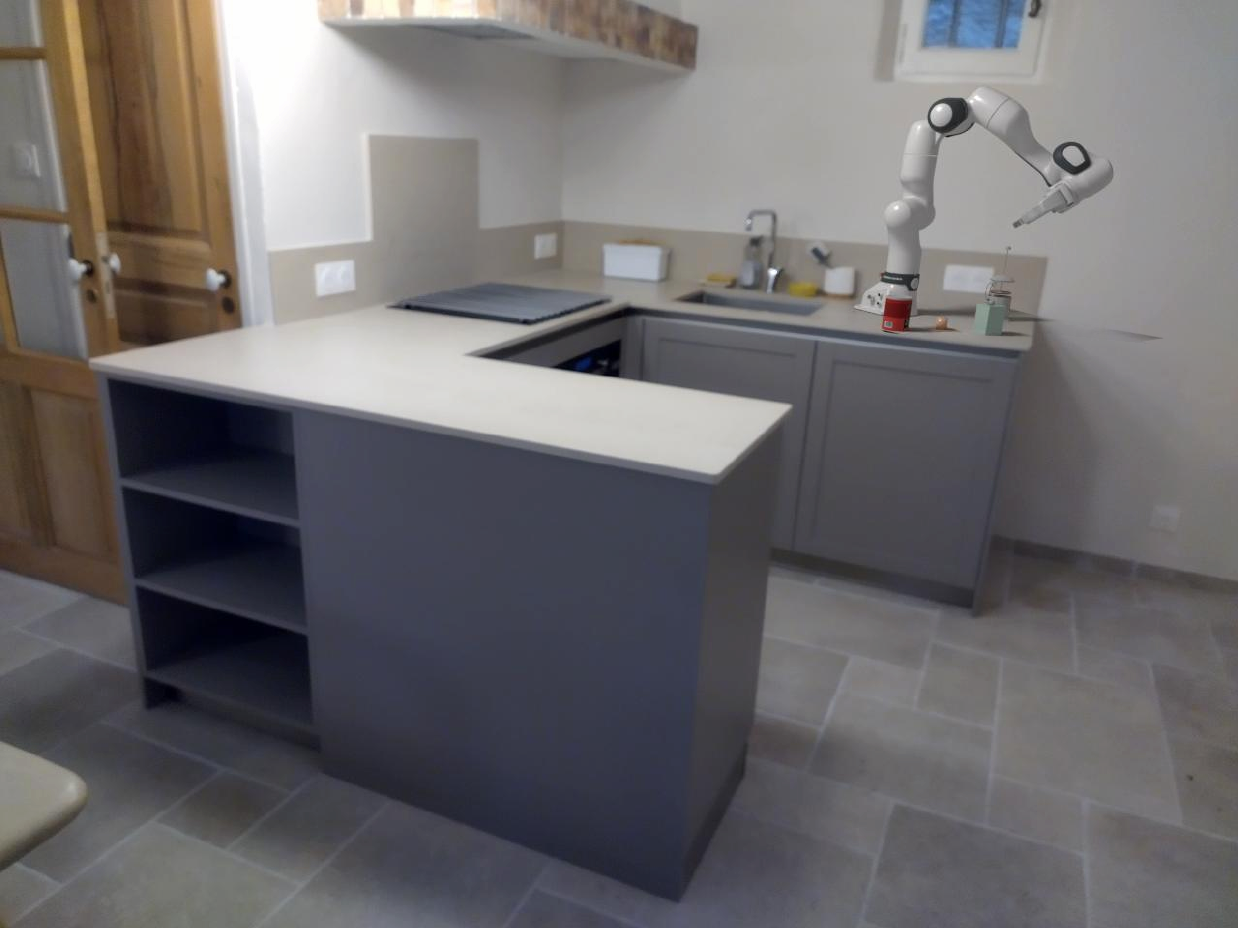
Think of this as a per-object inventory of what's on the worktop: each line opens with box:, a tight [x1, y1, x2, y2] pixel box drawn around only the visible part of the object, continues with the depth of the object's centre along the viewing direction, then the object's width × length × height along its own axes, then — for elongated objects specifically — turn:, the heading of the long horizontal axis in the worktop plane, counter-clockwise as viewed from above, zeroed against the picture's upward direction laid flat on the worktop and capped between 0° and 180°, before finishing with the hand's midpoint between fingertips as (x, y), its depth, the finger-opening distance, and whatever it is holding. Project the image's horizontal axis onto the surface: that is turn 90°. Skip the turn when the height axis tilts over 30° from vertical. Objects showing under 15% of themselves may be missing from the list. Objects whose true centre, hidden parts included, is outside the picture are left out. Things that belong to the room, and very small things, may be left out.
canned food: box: [881, 295, 913, 335], centre depth 282 cm, size 8×8×11 cm
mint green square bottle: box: [972, 301, 1006, 336], centre depth 282 cm, size 6×6×10 cm
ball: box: [935, 316, 949, 330], centre depth 287 cm, size 3×3×4 cm
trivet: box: [922, 325, 963, 333], centre depth 287 cm, size 9×9×1 cm
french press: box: [984, 245, 1016, 323], centre depth 312 cm, size 10×12×25 cm
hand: (1017, 223), depth 277 cm, fingers open, 8 cm apart
